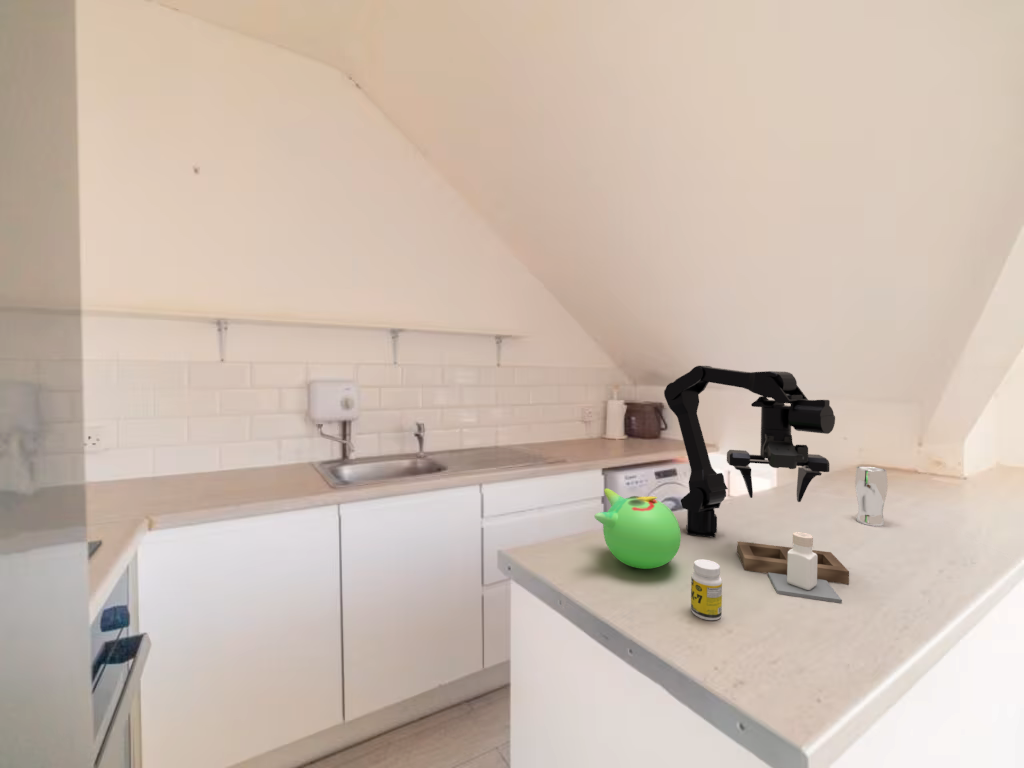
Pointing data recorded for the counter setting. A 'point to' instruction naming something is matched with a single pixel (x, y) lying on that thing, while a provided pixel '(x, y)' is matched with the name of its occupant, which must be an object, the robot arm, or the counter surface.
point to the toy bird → (640, 530)
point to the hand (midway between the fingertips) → (774, 499)
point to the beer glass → (871, 494)
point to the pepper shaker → (802, 562)
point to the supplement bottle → (706, 590)
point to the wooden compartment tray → (777, 558)
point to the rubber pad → (818, 592)
